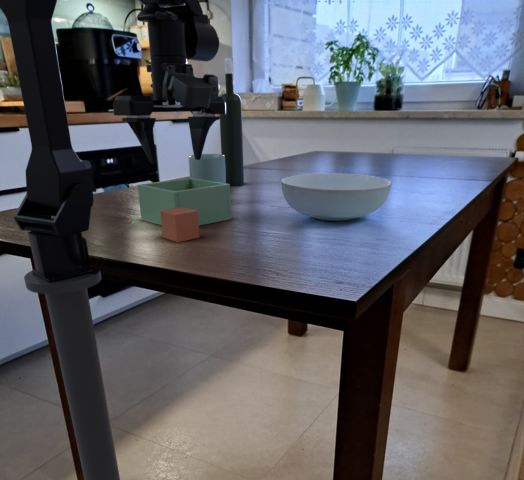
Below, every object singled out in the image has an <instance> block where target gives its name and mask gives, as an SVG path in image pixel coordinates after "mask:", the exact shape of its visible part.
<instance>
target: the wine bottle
mask: <svg viewBox="0 0 524 480" xmlns="http://www.w3.org/2000/svg"><path fill="white" fill-rule="evenodd" d="M223 63H224V76H225V77H224V80H225V93H223V94H222V95H219V97H222V98H223V100H224V101H225V104H226V114H218V115H219V117H220V119H219V131H220V154H222V155H224V156H225V167H226V184H230V187H239V186H243V185H244V184H245V175H244V170H245V169H244V144H243V142H244V141H243V140H244V138H243V137H244V135H243V110H242V105H243V104H242V98H241V96H240V95H239V94H238V93H235V91H234V58H233V57H224V60H223Z"/></svg>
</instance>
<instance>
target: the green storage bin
mask: <svg viewBox="0 0 524 480" xmlns="http://www.w3.org/2000/svg"><path fill="white" fill-rule="evenodd" d="M136 186H137V192H138V201H139V209H140V210H139V211H140V218H141V220H142V221H145V222H149V223H152V224H155V225H159V226H162V224H161V214H160V211H163V210H169V209H175V208H181V207H184V208H188V209H192V210H197V211H198V221H199V227H200V226H205V225H209V224H214V223H219V222H224V221H229V220H232V204H231V186H230V184H226V183H220V182H214V181H207V180H201V179H195V178H190V177H187V178H180V179H172V180H163V181H157V182H149V183H141V184H137V185H136Z"/></svg>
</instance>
